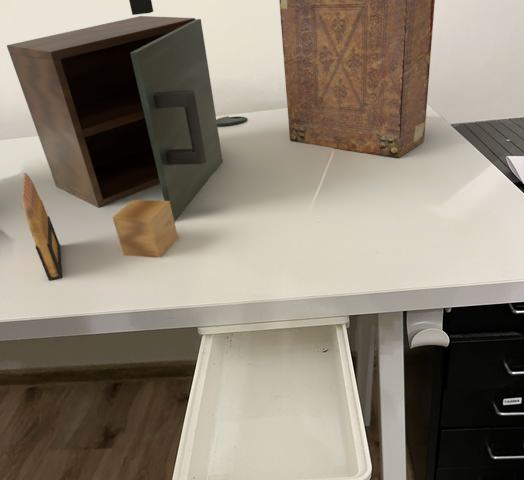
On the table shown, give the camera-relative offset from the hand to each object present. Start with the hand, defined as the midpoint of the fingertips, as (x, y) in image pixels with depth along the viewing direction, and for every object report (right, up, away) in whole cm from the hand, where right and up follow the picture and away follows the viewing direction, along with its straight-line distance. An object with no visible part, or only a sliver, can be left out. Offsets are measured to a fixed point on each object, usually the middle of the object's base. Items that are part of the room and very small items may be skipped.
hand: (142, 13), depth 79 cm
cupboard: (-7, -14, +28) cm, 32 cm away
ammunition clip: (-13, -36, +1) cm, 38 cm away
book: (+35, -8, +29) cm, 46 cm away
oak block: (+1, -34, +2) cm, 34 cm away
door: (+9, -20, +17) cm, 28 cm away
